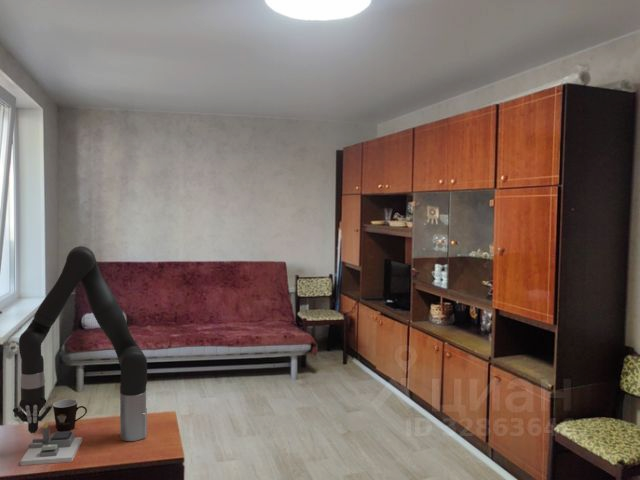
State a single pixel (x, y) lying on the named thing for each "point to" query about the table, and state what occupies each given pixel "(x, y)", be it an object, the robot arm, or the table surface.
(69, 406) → the coffee mug
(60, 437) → the push button
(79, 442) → the panel
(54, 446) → the rocker switch
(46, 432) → the paddle slider
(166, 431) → the table surface
